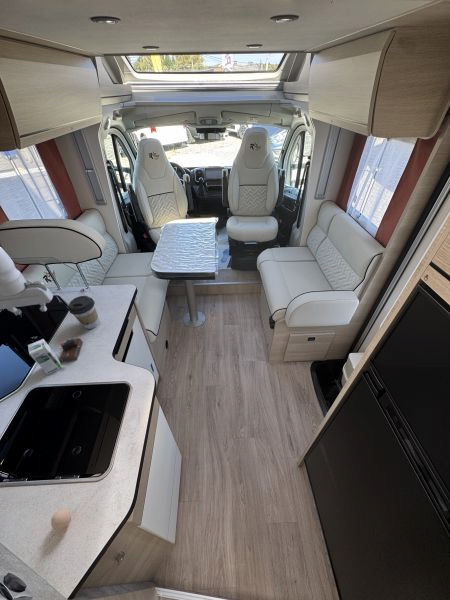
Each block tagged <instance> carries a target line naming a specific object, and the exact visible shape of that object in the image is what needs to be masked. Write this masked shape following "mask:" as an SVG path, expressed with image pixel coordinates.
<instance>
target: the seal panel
mask: <svg viewBox="0 0 450 600" xmlns="http://www.w3.org/2000/svg"><path fill="white" fill-rule="evenodd" d="M71 339H73V340H74V342H75V343H76V345H77V346H75V347H73V348H71V349H69V350H67V351H64V350H63V348H62V347H61V348H59V350H62V351H61V354H60V356H59V360H60V361H62V362H63V363H65V362H72V361H77V360H78V358H79V356H80V353H81V350H82V346H83V343H84V342H83V340H82V339H81V337H79V338H71ZM71 339H66V341H65V342H67V341H69V340H71Z"/></svg>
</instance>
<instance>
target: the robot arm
mask: <svg viewBox="0 0 450 600" xmlns="http://www.w3.org/2000/svg"><path fill="white" fill-rule="evenodd" d="M53 298H54V294H53V293H52V292H51V290H50V289H49V288H48V287H47V285H46V284H45V283H44V282H42V281H41V282H40V281H27V279H26V278H25V277H24V275H23V274H22V272H21V271H20V270H19V269H18V268H16V265H15V262H14V261H13V259H12V258H11V257H10V255H9V254H8V253H7V252H6V251H5V250H4V248H2V246H0V310H5V309H6V310H7V311H8V312H11V313H13V314H14V315H15V316H21V315H22V313H23V312H22V310H21V309H20V308H21V307H29V306H35V305H40V307H39V310H40V312H42V313H44V312H47V310H48V308H47V306H46V305H47V304H49V303H51V302H52V300H53Z"/></svg>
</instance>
